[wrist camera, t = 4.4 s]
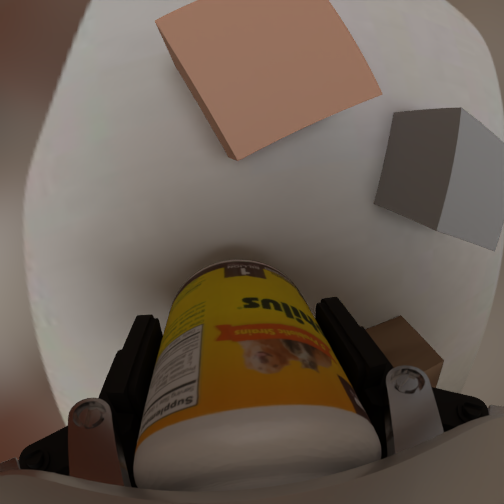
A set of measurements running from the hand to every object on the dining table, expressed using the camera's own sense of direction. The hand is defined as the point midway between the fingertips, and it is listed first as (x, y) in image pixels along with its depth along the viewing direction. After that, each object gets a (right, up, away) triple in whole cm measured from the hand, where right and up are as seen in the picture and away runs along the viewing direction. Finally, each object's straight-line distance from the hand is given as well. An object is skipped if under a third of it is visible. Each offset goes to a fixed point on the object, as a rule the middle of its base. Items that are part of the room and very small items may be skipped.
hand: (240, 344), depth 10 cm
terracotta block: (0, +11, +1) cm, 11 cm away
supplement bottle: (0, +1, +2) cm, 2 cm away
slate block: (+10, +8, +3) cm, 13 cm away
